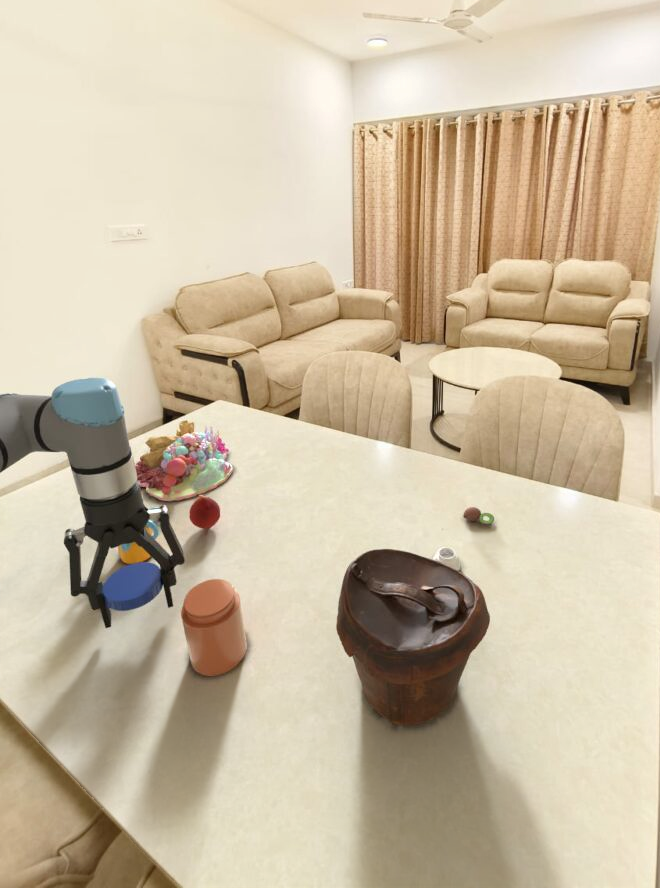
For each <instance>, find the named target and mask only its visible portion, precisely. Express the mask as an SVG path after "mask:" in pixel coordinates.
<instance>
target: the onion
mask: <svg viewBox="0 0 660 888" xmlns="http://www.w3.org/2000/svg"><path fill="white" fill-rule="evenodd" d="M220 517H221V508H220V505H219V504H218V502H217V501H216V500H215V499H213V498H211V497H209V496H204V494H198V498H197V499H196V500H194V502H193V503H192V505H191V506H190V508H189V520H190V523H192V525H194V526H195V527H197V528H198V529H201V530H209V529H211V528H212V527H214V526H215V525H216V524H217V523H218V521H219V520H220Z"/></svg>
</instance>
